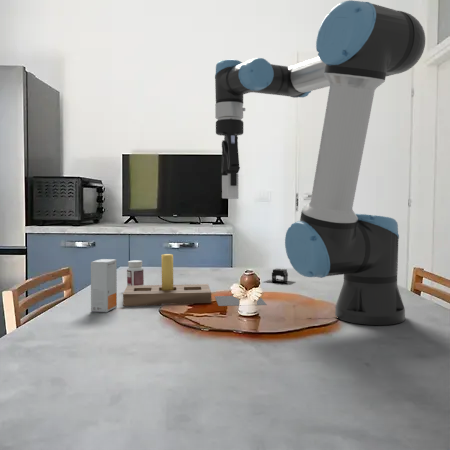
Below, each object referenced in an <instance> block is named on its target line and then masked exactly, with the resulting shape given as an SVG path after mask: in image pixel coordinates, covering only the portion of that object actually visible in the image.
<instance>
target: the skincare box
mask: <svg viewBox="0 0 450 450" xmlns="http://www.w3.org/2000/svg"><path fill="white" fill-rule="evenodd" d="M117 267H118V266H117V259H112V258H108V259H107V258H101V259H96V260H94V261H91V262H90V312H93V313H95V312H96V313H108V312H110V311H111V310H114V309H116V308H117V307H118V305H117V303H118V299H117V297H118V293H117V291H118V290H117V287H118V285H117V284H118V283H117V281H118V279H117V275H118V274H117V272H118V271H117V270H118V269H117Z"/></svg>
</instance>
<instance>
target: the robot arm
mask: <svg viewBox="0 0 450 450" xmlns="http://www.w3.org/2000/svg"><path fill="white" fill-rule="evenodd" d="M315 45H316V46H315V48H316V52H317V56H316V57H314V58H311V59H308V60H305V61H302V62H298V63H296V64H294V65H290V66H286V65H278V64H273V63H272V64H271V63H270V62H269V61H268V60H267V59H265V58H264V57H255V58H250V59H247V60H246V61H244V62H242V61H240V60H238V59H225V60H223V59H222V60H220V61H218V62H217V63H216V65H215V74H214V80H215V83H214V84H215V87H214V88H215V89H214V90H215V109H214V110H215V119H216V121H215V135H217V136H224V139H223V140H222V141H221V149H222V150H221V170H220V173H221V191H222V192H221V198H222V199H227V200H233V199H234V200H237V199H238V200H239V171H240V168H241V167H240V158H239V156H240V155H239V142H238V140H239V136H242V135H244V121H243V120H242V119H244V112H246V108H245V107H244V95H246V94H250V93H255V94H266V95H275V96H283V97H290V98H293V99H294V98H306V97H308V96H309V94H311V93H312V92H313V91H316V90H320V89H324V88H328V87H329V90H328V95H327V102H326V109H325V114H324V119H323V124H322V125H323V126H322V132H321V137H320V138H321V139H320V143H319V150H318V154H317V162H316V166H315V167H316V168H315V172H314V179H313V186H312V191H311V198H310V202H309V203H308V204H306V205H305V206H303V207H302V208H301V212H300V218H299V220H298V221H294V222H293V223H292V224H291V225H290V226H289V227H288V228H287V230H286V232H285V237H284V238H285V239H284V241H285V242H284V245H285V252H286V256H287V259H288V260H289V264H290V265H291V266H292V268H293V269H294V270H295V271H296V272H297V273H298V274H299V275H301V276H303V277H306V278H326V277H333V276H339V275H340V276H342V275H343V284H342V287H341V288H340V289H341V290H340V292H339V295H338V298H337V301H336V304H335V309H334V310H335V312H334V313H335V316H336V318H337V317H338V318H337V319H339V320H341V321H343V322H348V323H353V324H359V325H365V326H366V325H367V326H368V325H369V326H389V325H397V324H401V323H403V322H405V320H406V309H405V306H404V302H403V298H402V296H401V292H400V289H399V286H398V268H399V267H398V266H399V265H398V264H399V263H398V262H399V239H400V235H399V225H398V222H397V220H396V219H395V218H393V217H390V216H383V215H375V214H374V215H373V214H366V213H356V212H355V211H354V210H353V207H354V202H355V201H354V200H355V196H356V191H357V185H358V179H359V175H360V170H361V165H362V164H361V163H362V159H363V154H364V149H365V144H366V139H367V134H368V133H367V132H368V128H369V122H370V116H371V112H372V106H373V102H374V98H375V97H374V96H375V91H376V89H377V88H379V87H380V86H381V85H383V83H385V81H386V77H390V76H394V75H398V74H402V73H404V72H407V71H409V70H411V69H412V68H413V67H414V66H415V65H416V64H417V63H418V62H419V61H420V59H422V55H423V54H424V50H425V48H426V33H425V30H424V27H423V26H422V24H421V23H420V21H419V20H418V19H417V18H416V17H415V16H413V14H410V13H409V12H405V11H403V10H396V9H393V8H389V7H386V6H382V5H379V4H375V3H371V2H369V1H359V0H345V1H342V2H340V3H338V4H336V5H335V6H334V7H333V8H331V10H330V11H329V13H327V14H326V15H325V17H324V19H323V20H322V22H321V24H320V25H319V28H318V31H317V36H316V41H315Z"/></svg>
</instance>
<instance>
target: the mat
mask: <svg viewBox="0 0 450 450" xmlns="http://www.w3.org/2000/svg"><path fill="white" fill-rule="evenodd" d="M233 296H234V295H219V296H218V295H217V296H216V295H215V296H214V299H215V301H216V304H217V305H218V307H228V306H229V307H231V306H232V307H235V306H238V307H239V299H237V298H235V297H233ZM256 306H267V303H266V301H264V300H263V298H262V297H261V298H260V299H259V300H258V301H257V305H256Z"/></svg>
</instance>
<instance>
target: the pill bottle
mask: <svg viewBox="0 0 450 450" xmlns="http://www.w3.org/2000/svg"><path fill="white" fill-rule="evenodd" d="M127 266H128V267H127V269H126V287H127V286H135V285H145V283H144V279H145V278H144V277H145V276H144V267H142V266H143V260H137V259H136V260H135V259H134V260H129V261H127Z"/></svg>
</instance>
